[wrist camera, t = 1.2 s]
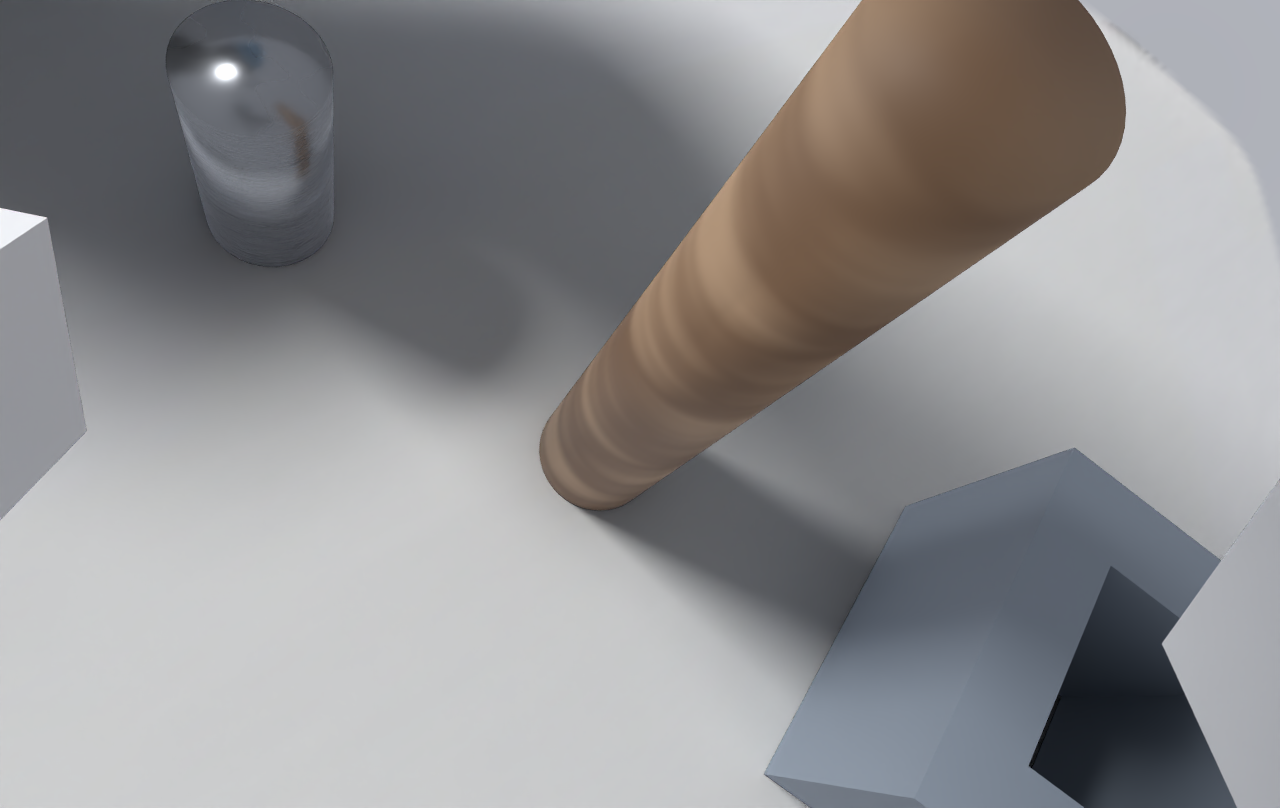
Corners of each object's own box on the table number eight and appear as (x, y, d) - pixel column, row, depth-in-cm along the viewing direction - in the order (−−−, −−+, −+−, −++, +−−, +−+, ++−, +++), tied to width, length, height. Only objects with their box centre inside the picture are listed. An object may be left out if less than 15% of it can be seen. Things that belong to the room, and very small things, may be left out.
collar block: (763, 774, 32) (914, 798, 23) (905, 506, 36) (1074, 447, 28) (1025, 962, 32) (1260, 1050, 24) (1133, 677, 37) (1363, 670, 29)
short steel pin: (177, 214, 31) (129, 65, 24) (262, 135, 33) (240, -28, 26) (280, 289, 32) (262, 165, 24) (358, 207, 33) (365, 66, 26)
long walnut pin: (516, 463, 32) (815, 63, 12) (582, 373, 34) (945, -112, 14) (612, 534, 33) (1063, 257, 12) (674, 442, 34) (1161, 65, 14)
